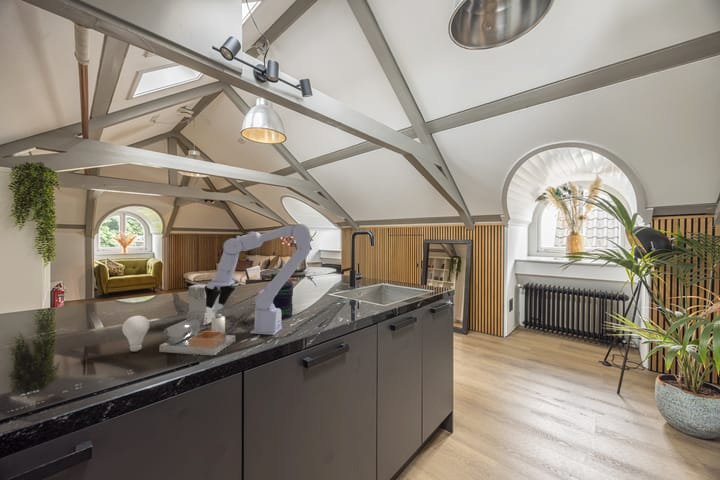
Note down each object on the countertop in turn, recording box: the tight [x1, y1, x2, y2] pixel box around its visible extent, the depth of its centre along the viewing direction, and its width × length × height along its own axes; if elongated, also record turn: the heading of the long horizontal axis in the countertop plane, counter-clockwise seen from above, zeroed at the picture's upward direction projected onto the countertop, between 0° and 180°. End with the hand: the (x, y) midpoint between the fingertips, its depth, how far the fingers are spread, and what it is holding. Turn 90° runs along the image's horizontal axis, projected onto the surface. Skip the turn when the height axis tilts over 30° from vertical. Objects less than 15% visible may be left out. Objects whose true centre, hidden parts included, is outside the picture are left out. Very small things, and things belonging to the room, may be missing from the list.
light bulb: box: [121, 315, 150, 353], centre depth 90 cm, size 7×7×11 cm
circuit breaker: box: [186, 283, 224, 326], centre depth 124 cm, size 8×14×15 cm, turn 174°
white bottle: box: [211, 313, 226, 332], centre depth 107 cm, size 4×4×7 cm
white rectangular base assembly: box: [158, 317, 237, 356], centre depth 95 cm, size 18×12×8 cm, turn 84°
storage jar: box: [273, 281, 294, 321], centre depth 131 cm, size 10×10×15 cm
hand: (215, 305), depth 107 cm, fingers open, 7 cm apart
